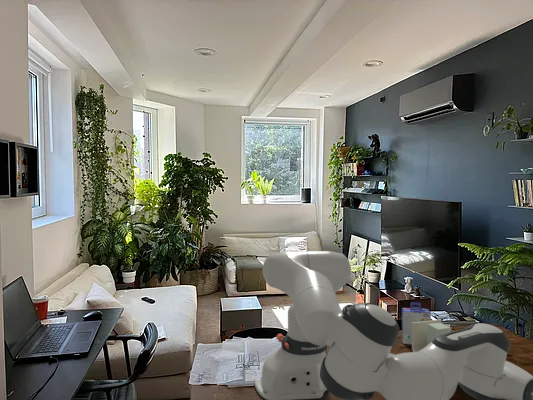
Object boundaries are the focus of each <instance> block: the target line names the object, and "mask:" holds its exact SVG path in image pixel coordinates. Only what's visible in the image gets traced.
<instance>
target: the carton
mask: <svg viewBox="0 0 533 400" xmlns="http://www.w3.org/2000/svg"><path fill="white" fill-rule="evenodd" d="M432 323H442V319H431V321H422V322H414V323H412V344H411V350H412V352H417V351H419V350H421V349H423V348H424V347H426V346H427V324H432Z"/></svg>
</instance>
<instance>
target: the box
mask: <svg viewBox="0 0 533 400" xmlns="http://www.w3.org/2000/svg"><path fill="white" fill-rule="evenodd" d="M449 332H452V327H450V326H449V325H446V324H444V323H442V322H441V323H432V324H427V345H428V344H430V343H431V342H432V341H433V340H434V339H435V338H436V337H437V336H439V335H442V334H445V333H449Z"/></svg>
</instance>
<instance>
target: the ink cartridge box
mask: <svg viewBox="0 0 533 400" xmlns="http://www.w3.org/2000/svg"><path fill="white" fill-rule="evenodd" d="M414 305H416V306H414ZM431 320H432V313H431V310H429V309H428V308H422V305H421V302H413V301H412V302H410V307H401V330H402V331H401V342H402V344H403V345H405V344H406V345H412V323H414V322H422V321H431Z"/></svg>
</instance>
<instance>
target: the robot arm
mask: <svg viewBox="0 0 533 400" xmlns="http://www.w3.org/2000/svg"><path fill="white" fill-rule="evenodd" d="M351 273H352V267H351V263H350V260H349V258H347V256H346V255H345V254H344V253H342V252H341V253H340V252H337V251H336V252H335V251H332V250H300V251H299V250H298V251H297V250H291V251H290V250H289V251H279V252H278V251H277V252H275V253H270V254H268V256H267V257H266V258H265V260H264V261H263V265H262V276H263V278H264V280H265V282H266V284H267V285H268V286H269V287H271V288H274V289H276V290H279V291H281V292H283V293H285V295H287V296H288V297H289V298H290V299H291V301H292V304H291V305H290V306H289V307H288V310H287V333H286V335H285V336H284V335H283V334H282V333H278V334H277V335H276V339H277V341H278V342H279V343H281V346H280V347H279V348H278V349H277V350H276V351H274V352H273V353H272V354H271V355H270V356H268V357H267V358H265V360H264V362H263V365H262V371H261V373H262V377H261V379H260V380H256V379H255V378H254V381H255V383H254V387H255V390H256V391H257V393H258V394H259V395H260V396H261V398H262V399H263V398H264V399H265V400H309V399H310V400H311V399H321V398H323V397H324V393H325V392H326V391H328V392H329V393H331V395H333V396H334V397H335V398H338V399H340V400H370V399H372V398H373V397H374V395H375V392H378V393H380V394H381V396H383V397H384V398H385V400H450V399H451V398H452V397H453V396H454V394H455V393H456V391H457V388H458V386H459V387H460V388H461V390H462V391H463V392H464V393H465V394H466V395H468V396H470V397H471V398H473V399H475V400H533V375H532V374H530V372H529V371H526V370H525V369H524V368H521V367H519V366H518V365H516V364H514V363H512V362H510V361H508V360H507V355H508V354H509V352H508V351H510V348H511V340H510V339H509V338H508V335H507V334H506V333H505V332H504V331H503V330H502V329H500V328H499V327H497V326H494V325H492V324H489V323H480V322H474V323H472V324H470V325H468V326H467V327H465V328H463V329H462V328H461V329H458V330H454V331H451V332H449V333H445V334H442V335H439V336H437V337H436V338H435V339H434V340H433V341H432V342H431V343H430V344H428V345H427V346H426V347H424V348H423V349H421V350H419V351H417V352H413V351H411V352H410V351H409V352H404V353H403V352H402V353H397V354H394V353H391V350H392V348H393V346H395V345H396V343H397V341H398V336H399V334H400V326H399V323H398V321H397V320H396V318H395V317H394V316H393V315H392V314H391V313H390V312H389V311H387V310H386V309H385V308H383V307H381V306H380V305H377V304H374V303H371V302H359V303H356V304H346V305H345V306H344V307H342V308H341V306H340V304H339V299H338V298H337V294H336V293H338V291H339V290H340V289H341V288H343V287H345V286H346V285H347V284H348V281H349V280H350V278H351ZM328 347H329V349H328Z"/></svg>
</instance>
